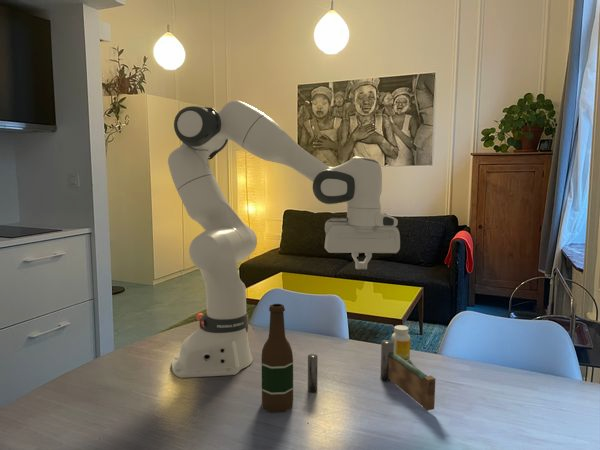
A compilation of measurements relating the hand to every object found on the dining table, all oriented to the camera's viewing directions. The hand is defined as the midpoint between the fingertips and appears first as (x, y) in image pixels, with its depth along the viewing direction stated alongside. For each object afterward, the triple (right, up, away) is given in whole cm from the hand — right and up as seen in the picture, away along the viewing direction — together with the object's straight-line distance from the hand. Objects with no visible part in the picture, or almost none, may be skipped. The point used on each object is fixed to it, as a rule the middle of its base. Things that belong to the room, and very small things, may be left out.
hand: (361, 268), depth 124 cm
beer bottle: (-22, -30, -17) cm, 41 cm away
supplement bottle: (+13, -27, +9) cm, 31 cm away
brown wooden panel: (+10, -29, -14) cm, 33 cm away
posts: (-3, -29, -7) cm, 30 cm away
